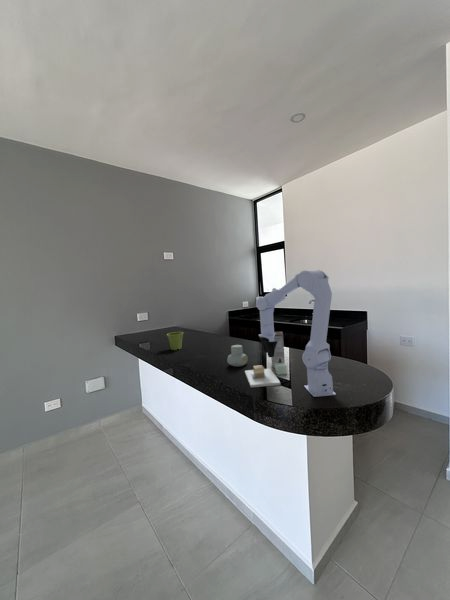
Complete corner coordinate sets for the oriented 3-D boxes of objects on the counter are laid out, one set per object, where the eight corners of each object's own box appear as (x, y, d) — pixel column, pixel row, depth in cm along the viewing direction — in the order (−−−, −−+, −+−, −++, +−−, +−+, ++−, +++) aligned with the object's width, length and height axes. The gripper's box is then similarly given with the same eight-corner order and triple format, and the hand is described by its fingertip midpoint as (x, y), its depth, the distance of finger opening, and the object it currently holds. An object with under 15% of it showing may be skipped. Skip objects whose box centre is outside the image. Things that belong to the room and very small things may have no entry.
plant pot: (164, 349, 178) (163, 334, 177) (178, 346, 186) (177, 331, 185) (173, 352, 169) (172, 335, 168) (187, 348, 177) (186, 332, 176)
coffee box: (272, 362, 131) (270, 331, 131) (284, 361, 130) (282, 331, 129) (271, 367, 122) (269, 334, 122) (285, 367, 121) (283, 334, 120)
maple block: (264, 377, 107) (264, 367, 106) (255, 377, 106) (254, 368, 106) (262, 374, 111) (262, 365, 110) (253, 374, 110) (253, 365, 110)
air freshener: (240, 369, 123) (239, 348, 123) (225, 367, 127) (224, 348, 127) (249, 362, 133) (248, 344, 132) (235, 361, 137) (234, 343, 136)
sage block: (286, 374, 112) (286, 365, 112) (277, 374, 112) (277, 365, 112) (284, 371, 116) (283, 362, 116) (275, 371, 116) (275, 363, 116)
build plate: (280, 384, 100) (280, 382, 100) (250, 387, 99) (250, 384, 99) (270, 370, 118) (270, 368, 118) (244, 372, 117) (244, 370, 117)
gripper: (255, 322, 117) (257, 351, 118) (261, 327, 103) (263, 359, 103) (269, 321, 118) (271, 350, 118) (278, 325, 103) (280, 358, 104)
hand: (269, 354), depth 111 cm, fingers open, 7 cm apart
